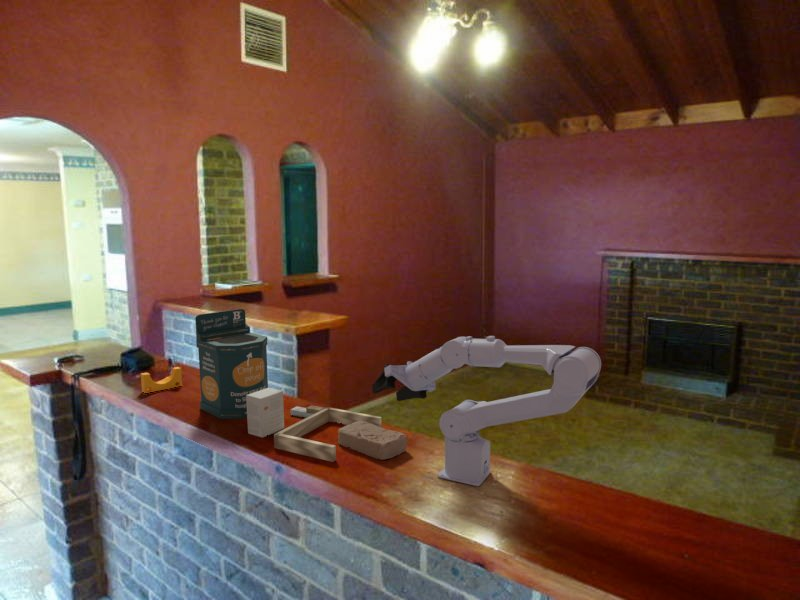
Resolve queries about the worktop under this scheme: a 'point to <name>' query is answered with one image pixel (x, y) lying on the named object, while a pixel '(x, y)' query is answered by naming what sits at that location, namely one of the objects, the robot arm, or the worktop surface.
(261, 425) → the small box
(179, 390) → the worktop surface
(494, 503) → the worktop surface
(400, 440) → the brick
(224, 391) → the donation box
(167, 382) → the pipe clamp
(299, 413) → the scraper bar
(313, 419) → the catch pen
